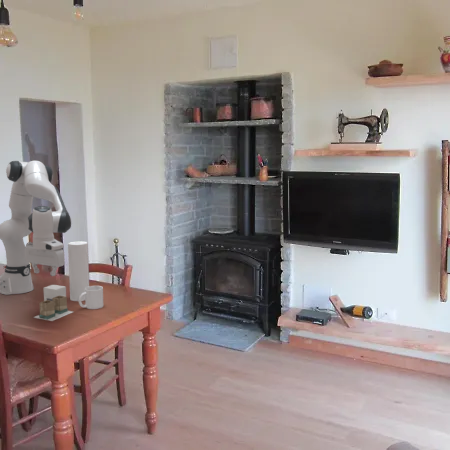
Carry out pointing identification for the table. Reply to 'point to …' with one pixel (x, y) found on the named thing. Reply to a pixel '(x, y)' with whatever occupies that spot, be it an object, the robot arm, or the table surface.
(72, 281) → the cylinder container
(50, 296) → the white box
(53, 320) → the pin board
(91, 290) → the mug
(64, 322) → the table surface
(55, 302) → the sleeve seated
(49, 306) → the sleeve
